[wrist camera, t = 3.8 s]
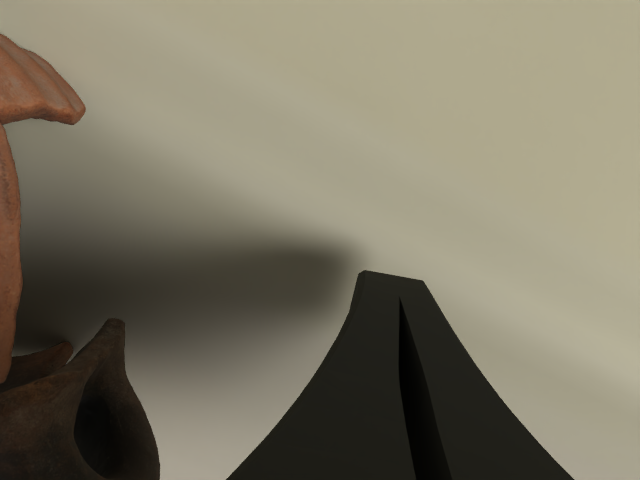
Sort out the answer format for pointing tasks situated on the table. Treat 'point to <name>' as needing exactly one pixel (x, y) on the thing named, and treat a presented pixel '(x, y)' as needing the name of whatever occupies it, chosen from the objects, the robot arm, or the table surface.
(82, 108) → the pottery mug
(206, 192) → the table surface
